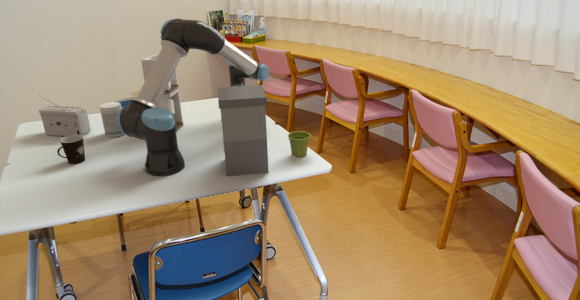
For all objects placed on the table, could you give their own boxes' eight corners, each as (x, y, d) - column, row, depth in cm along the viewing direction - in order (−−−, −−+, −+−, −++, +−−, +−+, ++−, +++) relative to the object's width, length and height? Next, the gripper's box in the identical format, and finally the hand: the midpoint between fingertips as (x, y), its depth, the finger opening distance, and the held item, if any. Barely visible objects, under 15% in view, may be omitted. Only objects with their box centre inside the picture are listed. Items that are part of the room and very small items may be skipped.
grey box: (225, 176, 170) (218, 100, 158) (224, 158, 186) (218, 87, 174) (269, 172, 172) (266, 97, 161) (265, 155, 188) (262, 85, 176)
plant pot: (297, 148, 194) (297, 129, 190) (315, 153, 188) (315, 134, 185) (283, 155, 187) (282, 136, 184) (301, 161, 182) (301, 141, 178)
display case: (152, 132, 216) (141, 60, 202) (161, 125, 226) (151, 55, 212) (175, 133, 214) (165, 60, 200) (183, 125, 224) (174, 55, 210)
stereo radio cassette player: (92, 132, 219) (83, 92, 211) (81, 138, 211) (72, 97, 203) (55, 130, 223) (45, 91, 215) (43, 136, 216) (32, 95, 208)
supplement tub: (130, 134, 215) (124, 104, 209) (110, 139, 209) (104, 109, 203) (120, 129, 222) (115, 100, 216) (102, 134, 216) (96, 105, 210)
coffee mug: (83, 155, 193) (78, 133, 189) (91, 160, 187) (86, 138, 183) (54, 163, 186) (49, 141, 182) (62, 169, 180) (56, 146, 176)
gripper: (256, 99, 220) (260, 115, 199) (222, 102, 218) (222, 118, 197) (255, 85, 217) (259, 99, 196) (220, 87, 215) (221, 101, 194)
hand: (241, 108), depth 196 cm, fingers open, 4 cm apart
